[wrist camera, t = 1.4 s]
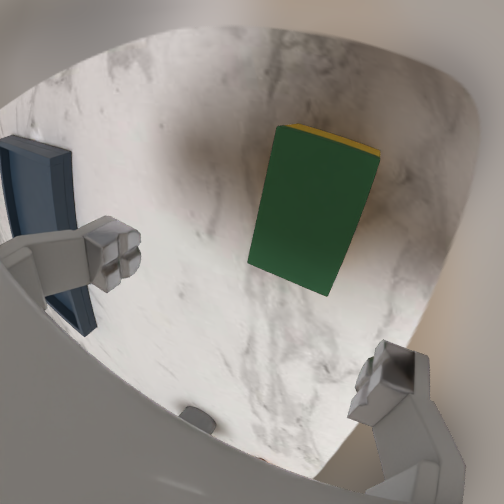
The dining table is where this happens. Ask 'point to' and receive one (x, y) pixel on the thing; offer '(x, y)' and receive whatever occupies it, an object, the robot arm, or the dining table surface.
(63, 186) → the tray
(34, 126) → the dining table surface
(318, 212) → the sponge
